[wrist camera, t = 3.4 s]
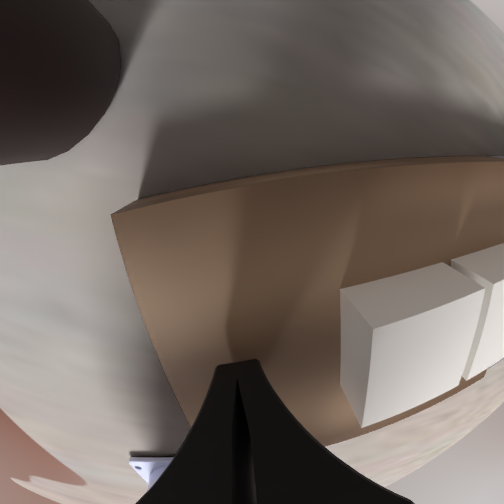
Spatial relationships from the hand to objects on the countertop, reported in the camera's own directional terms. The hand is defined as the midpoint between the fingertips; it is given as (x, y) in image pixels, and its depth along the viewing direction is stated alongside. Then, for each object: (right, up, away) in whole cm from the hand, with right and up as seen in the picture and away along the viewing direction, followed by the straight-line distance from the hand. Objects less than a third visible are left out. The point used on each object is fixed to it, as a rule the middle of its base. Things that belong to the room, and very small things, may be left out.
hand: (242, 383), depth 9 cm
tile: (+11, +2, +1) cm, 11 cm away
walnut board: (+5, +2, +4) cm, 7 cm away
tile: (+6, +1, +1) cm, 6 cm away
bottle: (-8, +11, 0) cm, 14 cm away
